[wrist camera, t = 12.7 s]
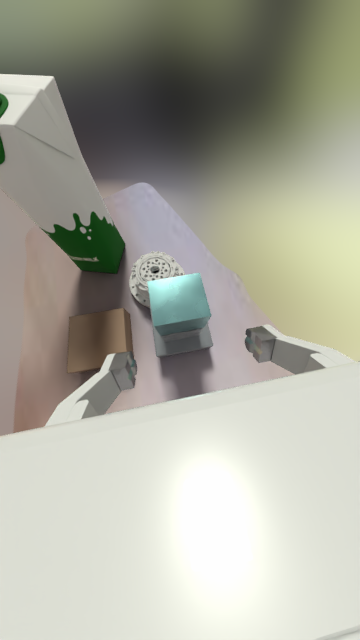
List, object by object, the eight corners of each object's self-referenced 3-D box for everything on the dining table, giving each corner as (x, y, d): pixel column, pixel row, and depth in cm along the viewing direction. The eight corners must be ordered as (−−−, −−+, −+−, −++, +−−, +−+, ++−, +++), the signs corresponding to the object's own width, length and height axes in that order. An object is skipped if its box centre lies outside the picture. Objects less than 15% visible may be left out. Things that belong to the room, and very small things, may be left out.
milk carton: (75, 274, 27) (-168, 65, 8) (89, 236, 30) (-70, 13, 11) (120, 278, 27) (-24, 71, 8) (131, 240, 30) (41, 16, 11)
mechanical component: (127, 307, 26) (183, 312, 25) (116, 296, 21) (184, 301, 21) (137, 260, 29) (187, 264, 28) (129, 242, 24) (189, 246, 24)
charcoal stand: (159, 357, 23) (156, 356, 20) (153, 310, 25) (149, 303, 22) (209, 348, 23) (213, 345, 20) (198, 302, 26) (200, 294, 23)
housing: (164, 342, 20) (153, 326, 12) (159, 313, 22) (147, 281, 14) (199, 335, 21) (211, 315, 13) (192, 307, 22) (199, 272, 14)
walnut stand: (81, 372, 22) (66, 373, 19) (82, 322, 25) (69, 316, 22) (134, 362, 23) (127, 361, 20) (129, 314, 25) (123, 307, 22)
